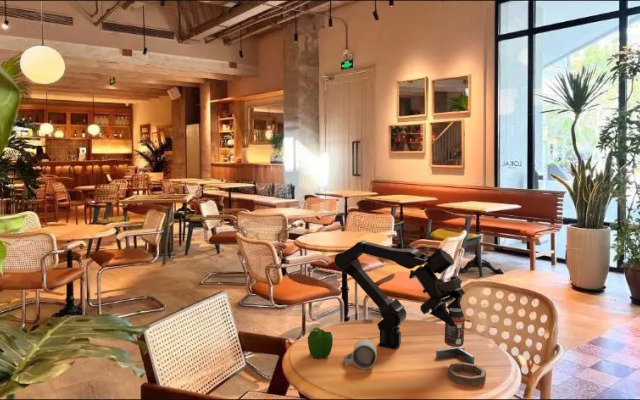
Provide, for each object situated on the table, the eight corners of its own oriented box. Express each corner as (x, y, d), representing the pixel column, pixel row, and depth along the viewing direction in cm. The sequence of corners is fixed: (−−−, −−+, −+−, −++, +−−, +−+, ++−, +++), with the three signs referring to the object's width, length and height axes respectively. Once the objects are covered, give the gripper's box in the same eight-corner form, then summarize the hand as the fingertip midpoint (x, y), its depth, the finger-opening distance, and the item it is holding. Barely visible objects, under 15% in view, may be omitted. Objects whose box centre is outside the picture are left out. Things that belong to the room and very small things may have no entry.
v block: (473, 364, 162) (473, 357, 162) (435, 358, 167) (435, 350, 167) (477, 355, 170) (477, 348, 169) (440, 349, 175) (440, 342, 174)
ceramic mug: (376, 359, 166) (376, 336, 166) (376, 370, 158) (376, 346, 157) (343, 358, 168) (343, 335, 167) (342, 369, 159) (341, 345, 159)
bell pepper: (327, 349, 174) (327, 320, 173) (336, 358, 167) (336, 329, 166) (303, 352, 171) (303, 323, 170) (311, 362, 164) (311, 332, 163)
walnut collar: (445, 382, 150) (445, 373, 150) (452, 368, 160) (452, 360, 159) (482, 389, 146) (482, 380, 146) (486, 374, 155) (487, 366, 155)
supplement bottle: (464, 348, 160) (465, 313, 159) (444, 346, 162) (446, 311, 161) (462, 341, 166) (464, 307, 165) (444, 339, 168) (445, 306, 166)
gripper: (429, 273, 158) (460, 316, 151) (461, 263, 171) (490, 303, 164) (407, 292, 164) (436, 335, 158) (439, 282, 177) (467, 321, 171)
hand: (458, 323), depth 162 cm, fingers closed on supplement bottle, 6 cm apart
